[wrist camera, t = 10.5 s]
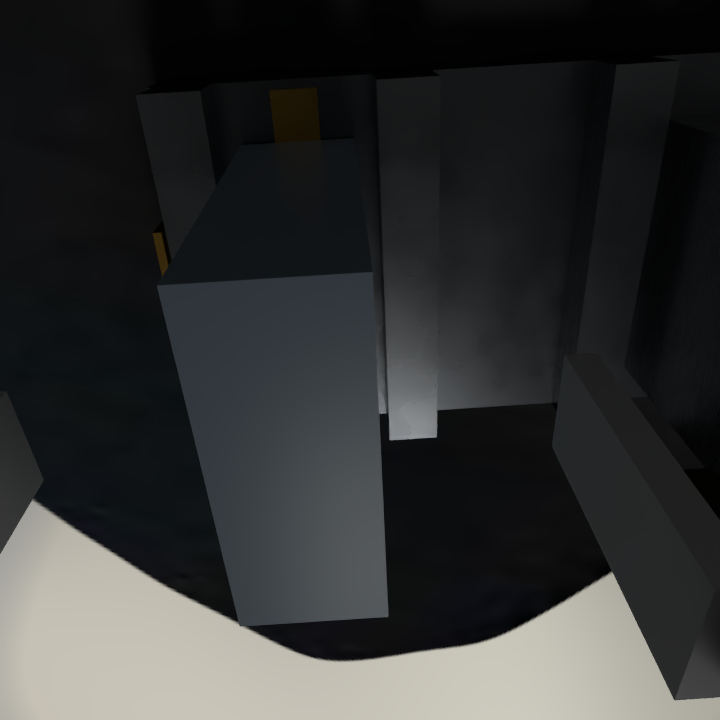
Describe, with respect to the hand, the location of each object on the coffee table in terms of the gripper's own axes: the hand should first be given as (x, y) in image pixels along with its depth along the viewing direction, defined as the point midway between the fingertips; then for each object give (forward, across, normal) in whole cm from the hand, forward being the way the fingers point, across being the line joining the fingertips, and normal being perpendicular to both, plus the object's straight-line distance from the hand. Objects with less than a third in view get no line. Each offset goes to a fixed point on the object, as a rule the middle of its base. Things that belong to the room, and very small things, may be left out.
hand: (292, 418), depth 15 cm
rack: (+12, +8, -1) cm, 14 cm away
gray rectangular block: (+10, 0, -1) cm, 11 cm away
